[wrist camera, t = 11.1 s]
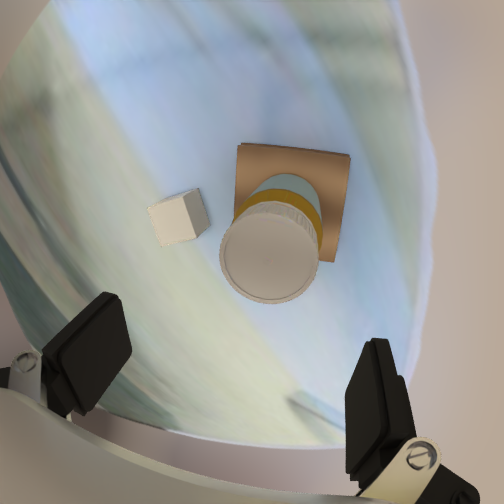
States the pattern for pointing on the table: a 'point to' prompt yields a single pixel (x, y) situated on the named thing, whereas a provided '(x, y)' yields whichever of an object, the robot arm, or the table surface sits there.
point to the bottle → (274, 241)
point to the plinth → (306, 166)
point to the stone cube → (179, 217)
